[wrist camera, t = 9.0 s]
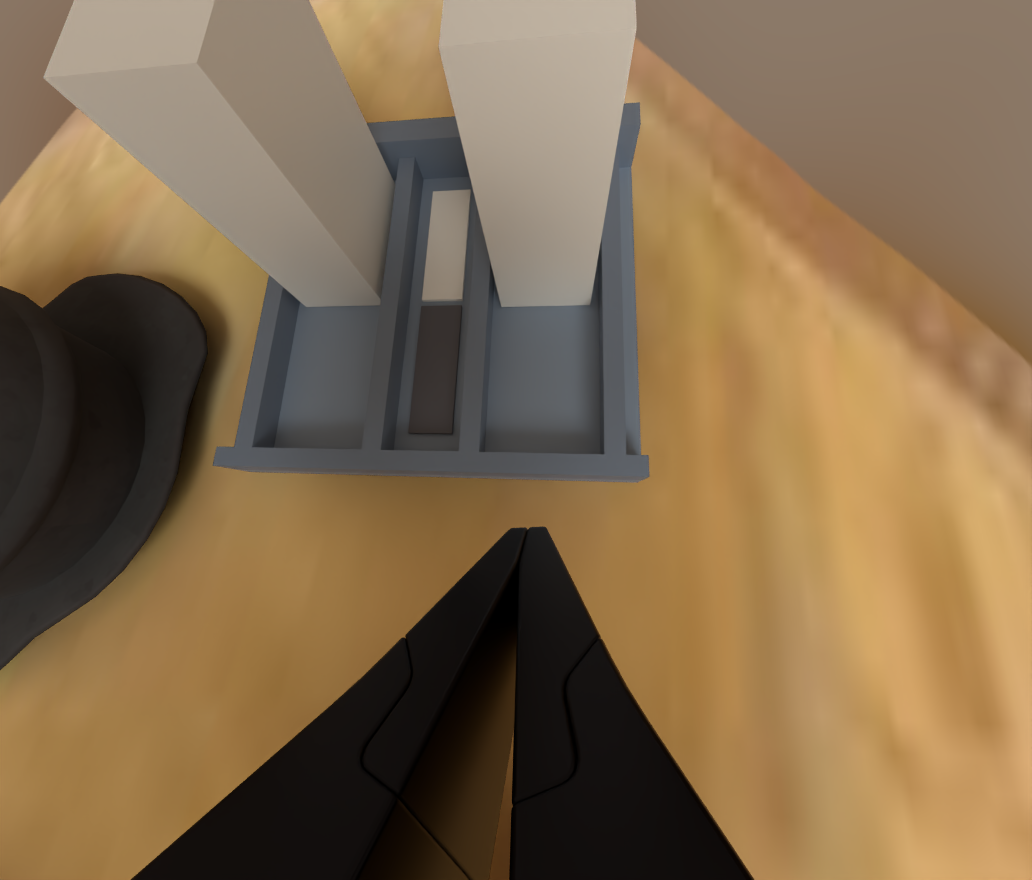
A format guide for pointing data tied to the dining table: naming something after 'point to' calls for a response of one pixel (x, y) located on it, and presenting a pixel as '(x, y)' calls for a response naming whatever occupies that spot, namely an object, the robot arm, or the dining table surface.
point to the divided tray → (451, 349)
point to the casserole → (86, 439)
